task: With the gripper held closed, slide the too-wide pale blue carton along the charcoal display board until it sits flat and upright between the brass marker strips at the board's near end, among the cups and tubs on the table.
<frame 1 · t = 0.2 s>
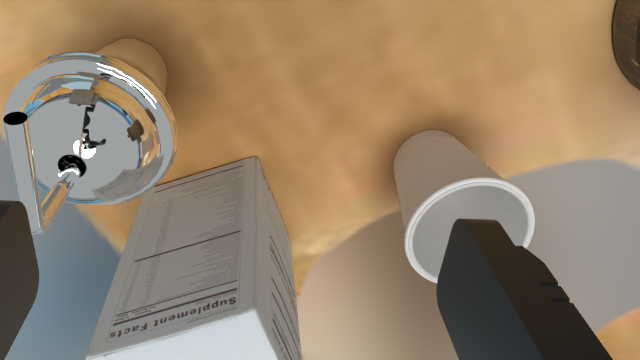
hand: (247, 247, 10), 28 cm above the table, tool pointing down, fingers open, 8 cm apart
cup with straw: (135, 67, 36), on the table
supplement box: (221, 216, 43), on the table
dixie cup: (427, 161, 42), on the table
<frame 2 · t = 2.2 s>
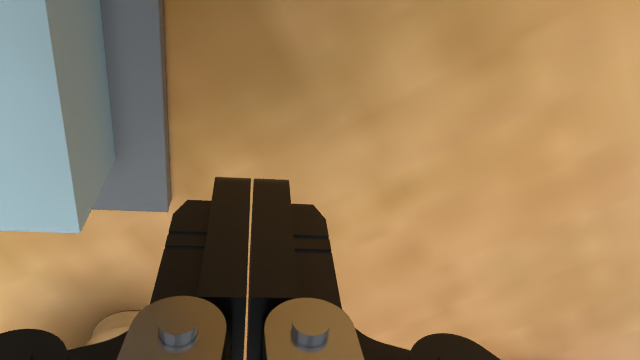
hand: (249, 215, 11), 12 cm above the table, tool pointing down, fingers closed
cup with straw: (139, 335, 29), on the table
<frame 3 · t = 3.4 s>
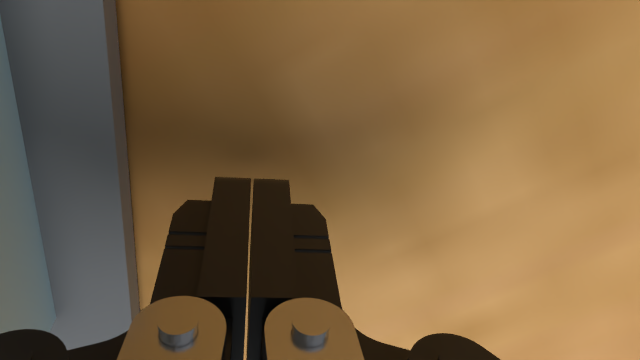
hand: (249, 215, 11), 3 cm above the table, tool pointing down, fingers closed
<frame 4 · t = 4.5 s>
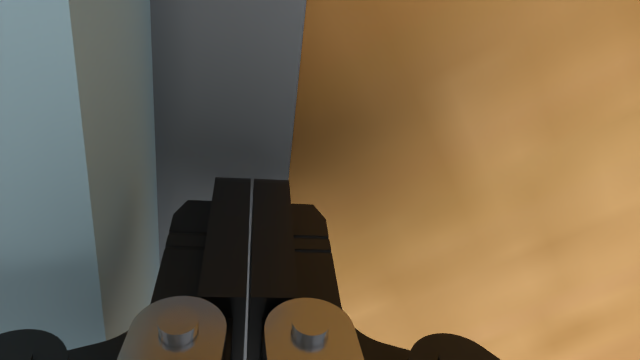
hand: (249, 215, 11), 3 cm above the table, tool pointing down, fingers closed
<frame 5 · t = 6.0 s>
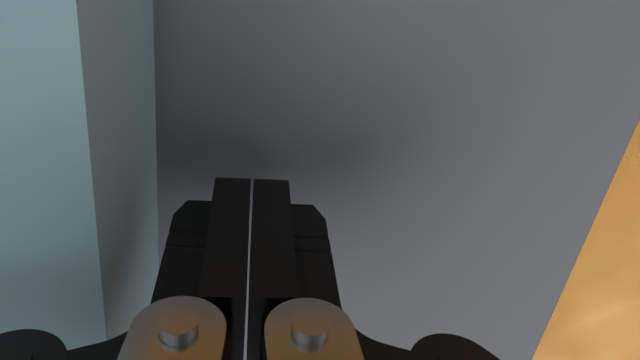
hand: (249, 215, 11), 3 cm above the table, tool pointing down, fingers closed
display board: (72, 129, 13), on the table
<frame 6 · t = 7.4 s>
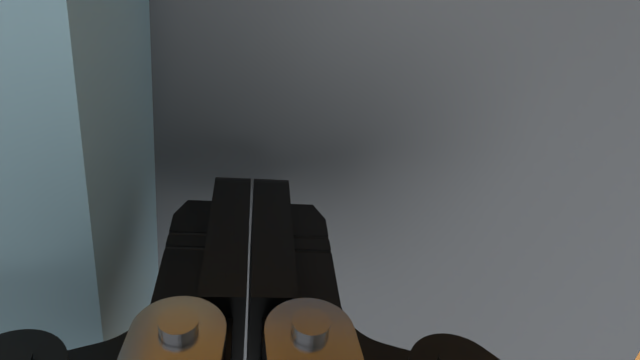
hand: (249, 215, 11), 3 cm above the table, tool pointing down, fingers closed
display board: (221, 144, 14), on the table
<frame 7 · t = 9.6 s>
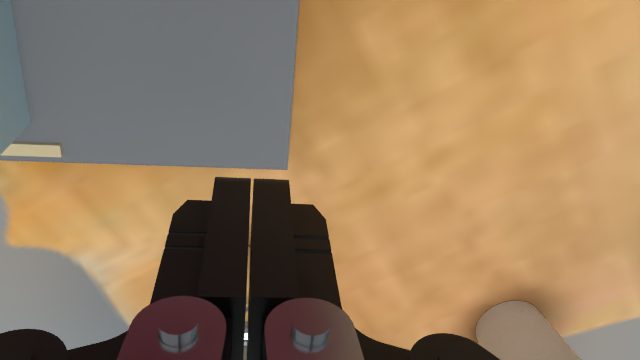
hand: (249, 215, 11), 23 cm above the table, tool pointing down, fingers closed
display board: (51, 38, 31), on the table
dixie cup: (506, 323, 46), on the table
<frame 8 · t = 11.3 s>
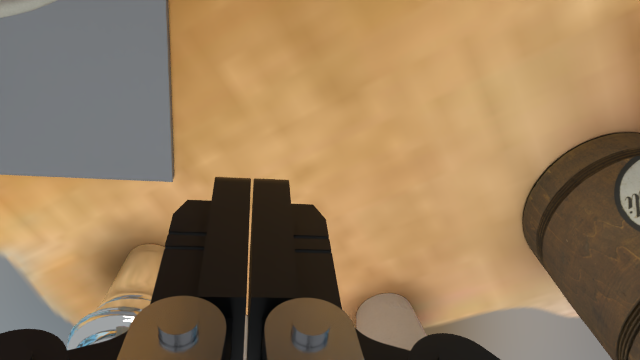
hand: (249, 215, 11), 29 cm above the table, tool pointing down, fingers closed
cup with straw: (154, 260, 48), on the table
wooden container: (599, 202, 49), on the table
dixie cup: (383, 313, 54), on the table
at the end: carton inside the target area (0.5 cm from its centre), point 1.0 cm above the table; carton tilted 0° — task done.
